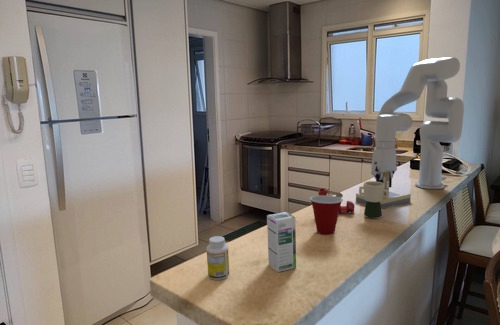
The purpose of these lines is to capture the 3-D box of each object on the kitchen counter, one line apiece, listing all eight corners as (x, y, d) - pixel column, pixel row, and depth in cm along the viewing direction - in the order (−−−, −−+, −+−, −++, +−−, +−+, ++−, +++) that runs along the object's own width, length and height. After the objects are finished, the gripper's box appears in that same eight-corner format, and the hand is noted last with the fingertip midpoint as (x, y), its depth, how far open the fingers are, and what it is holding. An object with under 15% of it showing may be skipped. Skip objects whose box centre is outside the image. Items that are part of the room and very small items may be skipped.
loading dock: (385, 194, 161) (385, 187, 160) (410, 202, 149) (410, 193, 149) (355, 201, 152) (356, 193, 152) (379, 209, 141) (379, 200, 141)
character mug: (390, 217, 132) (392, 183, 130) (384, 222, 127) (386, 187, 124) (361, 211, 139) (362, 179, 136) (355, 217, 133) (356, 183, 131)
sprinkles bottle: (391, 195, 149) (392, 164, 146) (381, 196, 148) (382, 165, 145) (384, 193, 153) (386, 162, 151) (375, 194, 152) (376, 163, 150)
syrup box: (277, 273, 93) (276, 220, 90) (267, 263, 99) (266, 213, 96) (296, 268, 95) (296, 216, 93) (285, 259, 101) (285, 210, 98)
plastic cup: (343, 227, 123) (344, 194, 121) (340, 239, 113) (341, 203, 111) (312, 224, 127) (312, 192, 125) (306, 236, 117) (306, 201, 115)
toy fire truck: (355, 214, 136) (355, 190, 135) (318, 214, 138) (319, 190, 136) (353, 211, 140) (354, 187, 138) (318, 211, 141) (318, 187, 139)
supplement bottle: (218, 268, 97) (217, 233, 95) (233, 274, 93) (232, 237, 91) (203, 276, 92) (201, 239, 91) (218, 283, 89) (216, 245, 87)
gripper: (392, 142, 154) (390, 183, 157) (363, 145, 146) (362, 188, 149) (406, 143, 147) (404, 186, 150) (377, 147, 139) (376, 192, 143)
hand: (383, 187), depth 150 cm, fingers closed on sprinkles bottle, 4 cm apart
